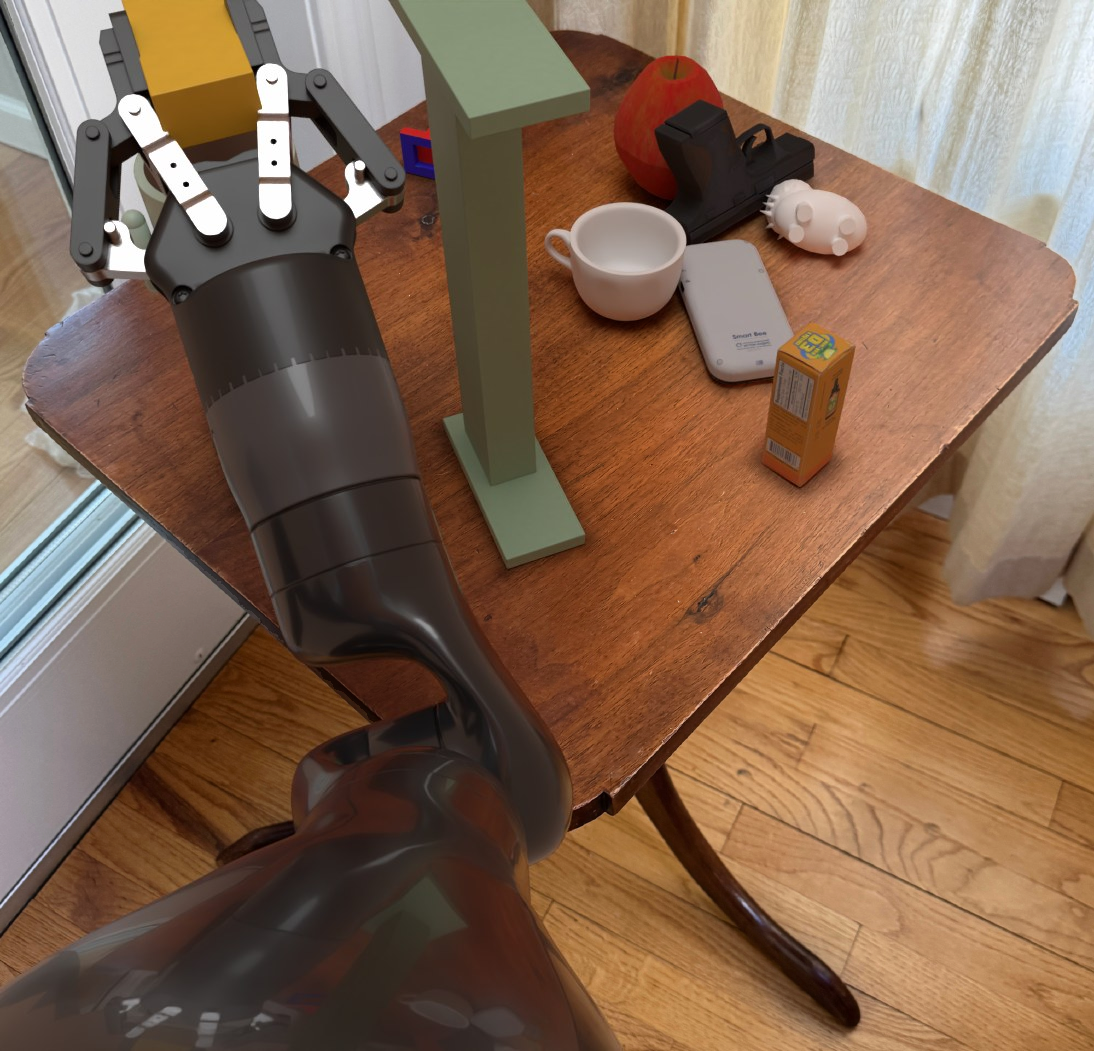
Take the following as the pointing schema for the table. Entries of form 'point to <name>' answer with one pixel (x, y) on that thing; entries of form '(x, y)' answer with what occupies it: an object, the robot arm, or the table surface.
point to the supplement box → (806, 402)
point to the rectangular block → (194, 69)
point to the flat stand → (494, 248)
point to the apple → (658, 117)
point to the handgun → (725, 168)
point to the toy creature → (814, 218)
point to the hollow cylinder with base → (156, 198)
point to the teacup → (623, 258)
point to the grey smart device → (733, 310)
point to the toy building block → (417, 152)
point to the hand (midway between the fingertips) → (176, 13)
